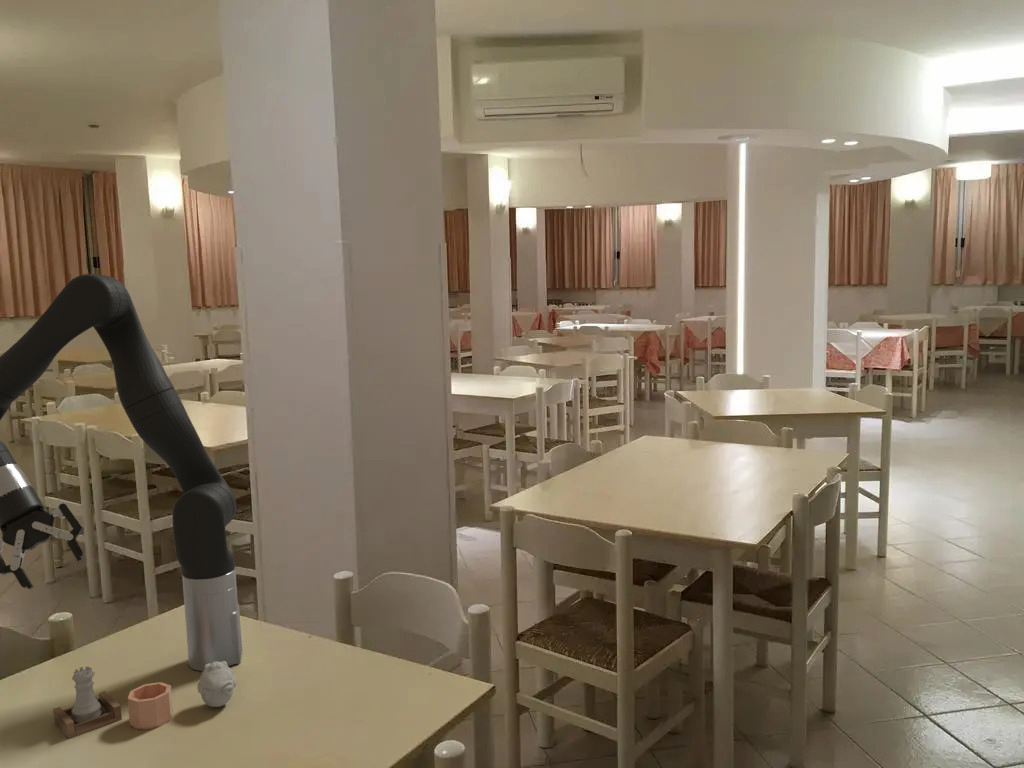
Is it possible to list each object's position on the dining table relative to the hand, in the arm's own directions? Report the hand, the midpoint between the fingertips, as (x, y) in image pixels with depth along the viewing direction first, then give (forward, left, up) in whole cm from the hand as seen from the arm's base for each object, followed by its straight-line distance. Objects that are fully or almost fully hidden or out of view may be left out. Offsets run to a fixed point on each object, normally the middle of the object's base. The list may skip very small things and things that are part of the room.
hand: (56, 574), depth 147 cm
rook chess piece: (-7, +15, -20) cm, 26 cm away
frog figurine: (-27, +16, -20) cm, 37 cm away
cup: (-17, +18, -20) cm, 32 cm away
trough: (-7, +16, -20) cm, 26 cm away
